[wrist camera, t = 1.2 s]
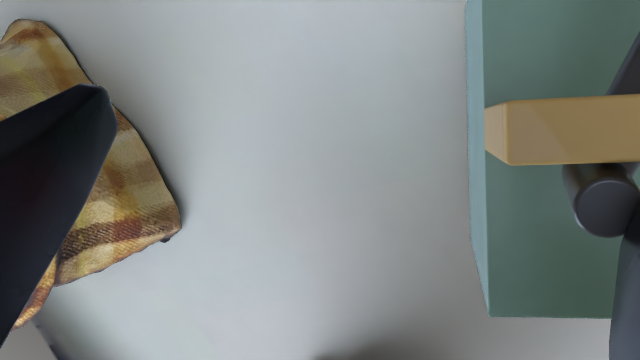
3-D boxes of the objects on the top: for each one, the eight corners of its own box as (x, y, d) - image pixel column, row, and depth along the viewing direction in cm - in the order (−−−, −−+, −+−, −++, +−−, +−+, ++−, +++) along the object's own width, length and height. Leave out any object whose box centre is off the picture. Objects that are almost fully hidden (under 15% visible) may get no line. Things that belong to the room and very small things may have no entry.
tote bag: (610, 238, 23) (894, 436, 9) (470, 239, 24) (511, 418, 10) (609, -2, 23) (919, -234, 8) (464, 9, 24) (500, -176, 9)
